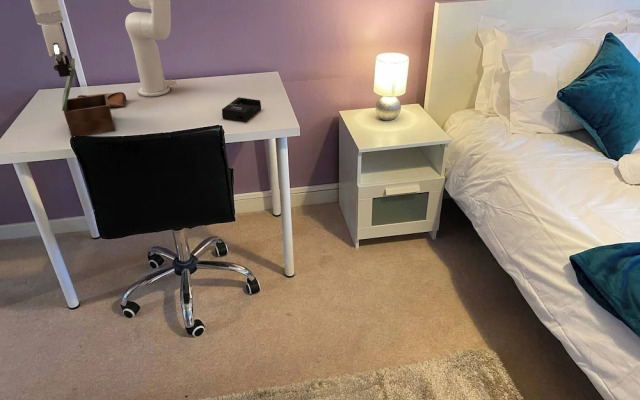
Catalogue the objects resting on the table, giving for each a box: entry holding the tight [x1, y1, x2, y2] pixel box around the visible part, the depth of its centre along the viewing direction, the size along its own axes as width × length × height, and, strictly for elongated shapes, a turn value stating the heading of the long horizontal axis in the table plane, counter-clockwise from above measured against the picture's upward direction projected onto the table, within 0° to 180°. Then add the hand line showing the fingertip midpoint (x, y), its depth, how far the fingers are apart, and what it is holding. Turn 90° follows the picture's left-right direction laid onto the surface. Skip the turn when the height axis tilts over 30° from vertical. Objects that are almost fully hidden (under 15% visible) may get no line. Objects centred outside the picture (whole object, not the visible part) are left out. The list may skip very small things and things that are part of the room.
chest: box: [63, 93, 116, 138], centre depth 170 cm, size 14×13×9 cm
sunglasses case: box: [76, 91, 127, 109], centre depth 189 cm, size 18×7×7 cm, turn 105°
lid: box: [53, 57, 76, 112], centre depth 161 cm, size 15×13×6 cm
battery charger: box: [221, 96, 262, 124], centre depth 180 cm, size 13×10×4 cm
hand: (65, 71), depth 160 cm, fingers open, 8 cm apart
